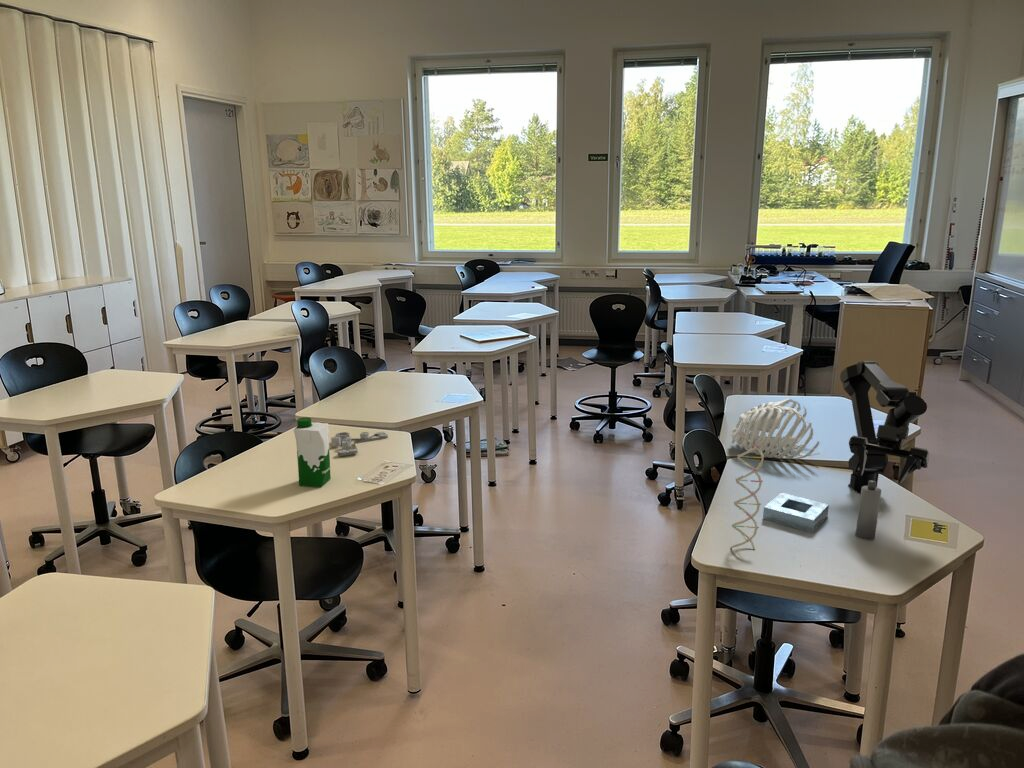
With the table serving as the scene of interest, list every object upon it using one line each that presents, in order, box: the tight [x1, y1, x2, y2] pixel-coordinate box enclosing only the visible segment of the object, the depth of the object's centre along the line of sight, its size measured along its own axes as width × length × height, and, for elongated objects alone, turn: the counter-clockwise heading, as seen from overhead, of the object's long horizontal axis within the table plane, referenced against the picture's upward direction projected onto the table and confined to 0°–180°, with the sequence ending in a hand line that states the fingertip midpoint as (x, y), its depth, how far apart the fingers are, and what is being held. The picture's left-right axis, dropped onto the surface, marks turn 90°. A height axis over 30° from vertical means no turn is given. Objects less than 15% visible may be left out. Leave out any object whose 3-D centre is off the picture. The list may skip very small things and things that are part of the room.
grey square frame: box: [762, 492, 830, 534], centre depth 197 cm, size 13×13×4 cm
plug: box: [855, 480, 882, 541], centre depth 185 cm, size 4×4×15 cm
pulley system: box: [330, 431, 389, 457], centre depth 256 cm, size 27×5×15 cm
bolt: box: [711, 466, 720, 484], centre depth 228 cm, size 6×5×15 cm
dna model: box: [729, 433, 767, 550], centre depth 176 cm, size 7×6×30 cm
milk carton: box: [293, 417, 331, 488], centre depth 219 cm, size 9×9×20 cm
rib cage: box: [730, 398, 820, 460], centre depth 248 cm, size 26×18×28 cm
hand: (879, 479), depth 190 cm, fingers open, 9 cm apart
